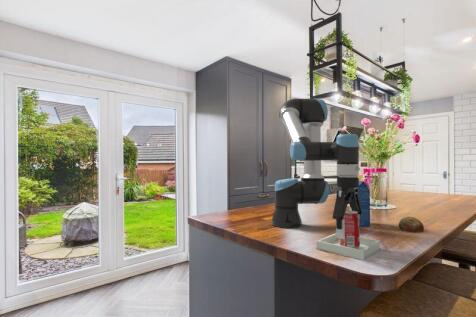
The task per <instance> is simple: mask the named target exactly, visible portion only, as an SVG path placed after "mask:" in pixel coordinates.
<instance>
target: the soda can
mask: <svg viewBox="0 0 476 317" xmlns="http://www.w3.org/2000/svg"><path fill="white" fill-rule="evenodd" d="M343 220H344V224H345V239H340V238H339V244H340V245H341V246H346V247H350V248H355V249H357V248H358V247H359V246H360V237H361V236H360V235H361V234H360V232H361V231H360V226H359V215H358V212H357V211H352V210H351V209H349V210H347V209H346V211H345V215H344V218H343Z"/></svg>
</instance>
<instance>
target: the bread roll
mask: <svg viewBox="0 0 476 317" xmlns="http://www.w3.org/2000/svg"><path fill="white" fill-rule="evenodd" d="M424 229H425V227H424V224H423V223H422V222H421V220H419V219H417V218H416V217H414V216H413V217H412V216H405V217H403V218H401V219H400V221H399V222H398V230H400V231H403V232H408V233H416V232H417V233H422V232H424Z"/></svg>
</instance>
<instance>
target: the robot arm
mask: <svg viewBox="0 0 476 317" xmlns="http://www.w3.org/2000/svg"><path fill="white" fill-rule="evenodd" d="M328 113H329V112H328V105H327V103H326V101H325V100H324V99H322V98H315V97H314V98H295V97H294V98H290V99H288V100H287V101H285V102H284V103H283V104H282V105H281V107H280V109H279V112H278V117H279V120H280V122H281V123H282V124H283V125H284V126H285V129H286V131H287V133H288V137H289V139H290V141H291V143H290V146H289V155H290V156H289V157H290V159H291V160H293V161H300V162H303V175H302V176H301V177H300V180H299V179H298V178H296V177H295V178H294V177H293V178H285V179H283V178H282V179H279V180H276V181H275V184H274V212H273V214H272V217H271V226H274V227H276V228H277V227H278V228H282V229H283V228H284V229H285V228H286V229H294V228H300V227H302V225H303V222H302V218H301V215H300V212H299V205H308V204H309V205H313V204H314V205H318V204H319V205H320V204H324V203H326V201H327V199H328V198H329V193H330V185H329V183H328V181H326V180H325V176H324V175H322V161H323V162H325V161H328V162H329V161H332V162H336V176H337V177H336V186H337V187H338V188H341V189H340V190H336V197H335V201H334V202H335V203H334V208H333V211H332V212H333V213H332V219H333V220H335V233H336V238H340V239H345V224H344V220H343V218H344V215H345V211H346V210H347V208H348V205H349V207H350V210H351V211H357V212H358V215H359V214H362V212H361V211H362V209H361V204H360V199H359V194H358V189H355V188H357V187H359V178H358V175H360V173H359V172H360V170H361V167H360V166H359V163H360V162H359V160H360V159H359V158H360V156H359V153H360V144H359V136H358V135H357V134H356V133H346V134H345V133H342V134H338V135H337V136H336V141H321V138H322V136H321V129H322V126H324V122H326V121H327V119H328V115H329V114H328Z"/></svg>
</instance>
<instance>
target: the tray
mask: <svg viewBox="0 0 476 317" xmlns="http://www.w3.org/2000/svg"><path fill="white" fill-rule="evenodd" d="M315 246H316V248H315V249H316V250H317V251H322V252H326V253H330V254H334V255H338V256H339V255H340V256H343V257H348V258H351V259H352V258H353V259H356V260H361V261H365V260H366V259H368V258H369V257H370V256H372V255H374V254H375V253H376V252H378V251H379V250H381V240H380V239H379V240H378V239H373V238H368V237H363V236H362V237H361V236H360V246H359V247H358V248H357V249H355V248H350V247H346V246H341V245H340V244H339V238H336V232H334V233H333V234H330V235H327V236H326V237H323V238H320V239H318V240H316V245H315Z"/></svg>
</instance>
